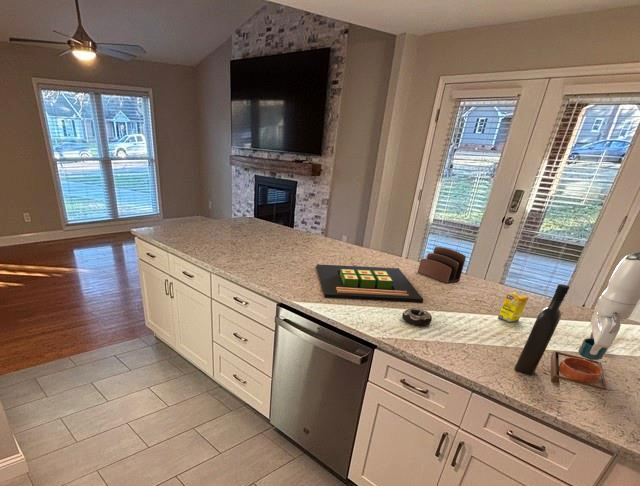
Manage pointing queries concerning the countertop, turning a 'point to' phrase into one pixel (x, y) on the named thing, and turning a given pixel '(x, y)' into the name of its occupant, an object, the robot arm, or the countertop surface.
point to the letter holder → (443, 265)
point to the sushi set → (366, 283)
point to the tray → (556, 377)
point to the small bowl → (585, 350)
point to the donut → (417, 317)
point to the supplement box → (512, 307)
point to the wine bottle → (541, 333)
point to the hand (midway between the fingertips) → (591, 348)
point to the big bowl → (580, 364)
